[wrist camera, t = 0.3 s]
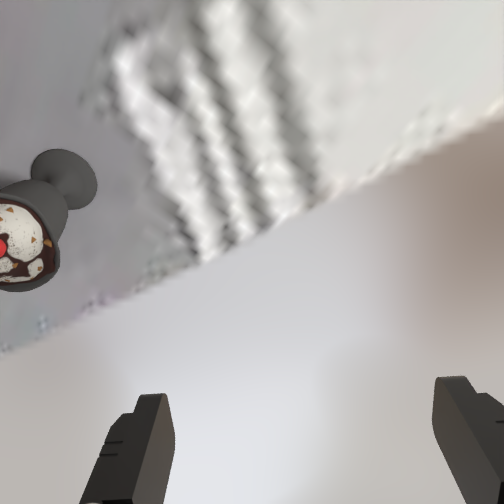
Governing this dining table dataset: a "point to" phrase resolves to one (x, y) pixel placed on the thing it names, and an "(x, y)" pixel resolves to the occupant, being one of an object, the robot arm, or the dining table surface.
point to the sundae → (40, 217)
